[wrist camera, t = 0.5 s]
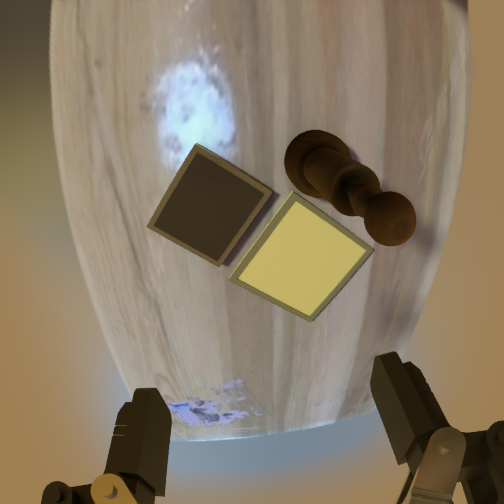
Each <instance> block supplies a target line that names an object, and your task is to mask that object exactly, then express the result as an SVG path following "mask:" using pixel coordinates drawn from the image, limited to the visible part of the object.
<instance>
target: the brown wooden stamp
mask: <svg viewBox="0 0 504 504" xmlns="http://www.w3.org/2000/svg"><path fill="white" fill-rule="evenodd" d="M284 165H285V170H286V173H287V176H288V177H289V179H290V181H291V182H292V183H293V184H294V185H295V187H296V188H297V189H298V190H300V191H301V192H302V193H304V194H306V195H308V196H311V197H315V198H324V197H325V198H326V199H327V200H328V201H329V202H330V203H331V204H332V205H333V206H334V208H335V209H336V210H337V211H339V212H340V213H342V214H344V215H347V216H360V217H363V218H364V224H365V228H366V230H367V232H368V234H369V235H370V236H371V237H372V238H373V239H374V240H375V241H376V242H378V243H379V244H382V245H385V246H397V245H400V244H402V243H404V242H405V241H407V240H408V239H409V238H410V237H411V235H412V234H413V232H414V230H415V226H416V214H415V210H414V208H413V206H412V204H411V203H410V201H409V200H408V199H407V198H406V197H404V196H403V195H401V194H399V193H397V192H391V191H389V192H382V190H381V189H380V183H379V180H378V178H377V176H376V174H375V173H374V172H373V171H372V170H371V169H370V168H368V167H366V166H365V165H363V164H361V163H359V162H357V161H355V160H353V159H351V155H350V152H349V150H348V148H347V146H346V145H345V144H344V142H343V141H342V140H341V139H339V138H338V137H337V136H335V135H333V134H331V133H328V132H325V131H321V130H309V131H306V132H303V133H301V134H299V135H298V136H297V137H295V138H294V139H293V140H292V142H291V143H290V144H289V146H288V148H287V150H286V153H285V158H284Z"/></svg>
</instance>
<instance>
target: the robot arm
mask: <svg viewBox="0 0 504 504" xmlns="http://www.w3.org/2000/svg"><path fill="white" fill-rule="evenodd" d="M370 386H371V392H372V396H373V398H374V401H375V404H376V406H377V409H378V411H379V414H380V417H381V419H382V422H383V424H384V427H385V430H386V432H387V435H388V438H389V441H390V443H391V446H392V449H393V452H394V454H395V457H396V460H397V463H398V465H401V464H403V463H406V462H407V463H408V466H409V471H408V474H407V476H406V479H405V481H404V484H403V486H402V488H401V491H400V493H399V495H398V497H397V500H396V502H395V504H454V503H453V501H452V496H453V492H454V489H455V486H456V483H457V482H461V484H462V486H463V490H464V493H465V496H466V499H467V502H468V504H504V421H498V422H495V423H494V424H493V425H491V427H490V428H489V429H488V430H485V431H478V432H470V433H464V432H460V431H459V430H457V429H455V428H453V427H451V426H450V425H449V423H448V421H447V420H446V418H445V416H444V414H443V412H442V410H441V408H440V406H439V404H438V402H437V400H436V398H435V397H434V394H433V392H431V389H430V387H429V385H428V383H426V379H425V378H424V376H423V374H422V372H421V370H420V369H419V368H417V367H416V366H415V365H413V363H411V362H410V361H409V362H406V363H402V361H401V359H400V357H399V355H398V354H397V353H396V352H395V351H393V352H390V353H386V354H382V355H378V356H376V357H375V359H374V364H373V370H372V375H371V381H370ZM115 425H116V427H115V428H114V432H113V435H114V436H112V440H111V445H110V450H109V454H108V459H107V463H106V468H105V471H104V473H103V475H101V476H99V477H97V478H96V479H95V480H94V482H93V483H92V484H88V485H82V486H75V487H69V486H68V485H66V484H65V483H63V482H60V481H55V482H52V483H50V484H49V485H47V486H46V488H45V490H44V492H43V496H42V501H41V504H154V502H155V496H164V497H165V486H166V474H167V464H168V453H169V444H170V435H171V426H172V418H171V413H170V410H169V408H168V407H167V405H166V403H165V402H164V400H163V398H162V396H161V395H160V393H159V391H158V390H157V388H137V389H136V390H135V391H134V395H133V399H132V402H125V404H124V405H123V407H122V408H121V409H120V411H119V412H118V415H117V420H116V423H115Z"/></svg>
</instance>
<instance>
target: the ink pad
mask: <svg viewBox="0 0 504 504" xmlns="http://www.w3.org/2000/svg"><path fill="white" fill-rule="evenodd" d="M272 193H273V192H272V190H271V189H270V188H268V187H267V186H265V185H263V184H262V183H260V182H259V181H257V180H256V179H254V178H253V177H251V176H249V175H248V174H246V173H245V172H243V171H241V170H240V169H238V168H237V167H235V166H233V165H232V164H230V163H229V162H227V161H225V160H224V159H222V158H220V157H219V156H217V155H216V154H214V153H212V152H211V151H209V150H207V149H206V148H204V147H202V146H201V145H199V144H197V143H195V145H194V146H193V148H192V150H191V151H190V153H189V154H188V156H187V158H186V159H185V161H184V162H183V164H182V166H181V167H180V169H179V171H178V172H177V174H176V176H175V177H174V179H173V181H172V183H171V184H170V186H169V188H168V189H167V191H166V193H165V195H164V196H163V198H162V200H161V202H160V203H159V205H158V207H157V209H156V211H155V212H154V214H153V216H152V218H151V220H150V221H149V223H148V225H147V228H149V229H151V230H153V231H155V232H156V233H158V234H160V235H162V236H163V237H165V238H167V239H169V240H171V241H172V242H174V243H176V244H178V245H180V246H181V247H183V248H185V249H187V250H189V251H190V252H192V253H194V254H196V255H198V256H200V257H201V258H203V259H205V260H207V261H209V262H210V263H212V264H214V265H216V266H218V267H220V266H221V264H222V263H223V261H224V260H225V259H226V257H227V256H228V254H229V253H230V252H231V250H232V249H233V247H234V246H235V244H236V243H237V242H238V240H239V239H240V237H241V236H242V235H243V233H244V232H245V230H246V229H247V228H248V226H249V225H250V223H251V222H252V220H253V219H254V218H255V216H256V215H257V213H258V212H259V211H260V209H261V208H262V206H263V205H264V204H265V202H266V201H267V200H268V198H269V197H270V195H271V194H272Z"/></svg>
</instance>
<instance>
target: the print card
mask: <svg viewBox="0 0 504 504" xmlns="http://www.w3.org/2000/svg"><path fill="white" fill-rule="evenodd" d="M372 251H373V249H372V248H371V247H370V246H369V245H367V244H366V243H365V242H363V241H362V240H361V239H359V238H358V237H357V236H355V235H354V234H353V233H351V232H350V231H348V230H347V229H346V228H344V227H343V226H342V225H340V224H339V223H337V222H336V221H335V220H333V219H332V218H331V217H329V216H328V215H326V214H325V213H323V212H322V211H321V210H319V209H318V208H316V207H315V206H314V205H312V204H311V203H309V202H308V201H306V200H305V199H303V198H302V197H301V196H299V195H298V194H296V193H295V192H293V191H292V192H291V193H290V195H289V196H288V198H287V199H286V200H285V202H284V203H283V204H282V206H281V207H280V208H279V210H278V211H277V213H276V214H275V215H274V217H273V218H272V219H271V221H270V222H269V223H268V225H267V226H266V228H265V229H264V230H263V232H262V233H261V234H260V236H259V237H258V238H257V240H256V241H255V243H254V244H253V245H252V247H251V248H250V249H249V251H248V252H247V253H246V255H245V256H244V258H243V259H242V260H241V262H240V263H239V264H238V266H237V267H236V269H235V270H234V271H233V273H232V274H231V275H230V277H229V281H231V282H233V283H235V284H237V285H239V286H240V287H242V288H244V289H246V290H248V291H250V292H252V293H254V294H256V295H258V296H260V297H262V298H263V299H265V300H267V301H269V302H271V303H273V304H275V305H277V306H279V307H281V308H283V309H285V310H287V311H289V312H291V313H293V314H295V315H297V316H299V317H301V318H303V319H305V320H307V321H309V322H311V321H312V320H313V319H314V318H315V317H316V316H317V314H318V313H319V312H320V311H321V310H322V309H323V308H324V307H325V306H326V304H327V303H328V302H329V301H330V300H331V299H332V298H333V297H334V295H335V294H336V293H337V292H338V291H339V290H340V289H341V288H342V286H343V285H344V284H345V283H346V282H347V281H348V279H349V278H350V277H351V276H352V275H353V274H354V272H355V271H356V270H357V269H358V268H359V266H360V265H361V264H362V263H363V262H364V260H365V259H366V258H367V257H368V256H369V254H370V253H371V252H372Z"/></svg>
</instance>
